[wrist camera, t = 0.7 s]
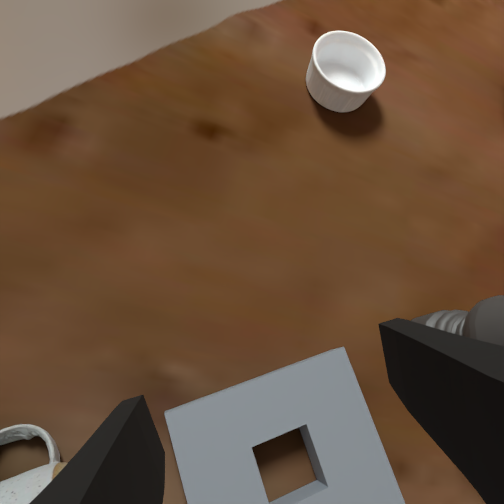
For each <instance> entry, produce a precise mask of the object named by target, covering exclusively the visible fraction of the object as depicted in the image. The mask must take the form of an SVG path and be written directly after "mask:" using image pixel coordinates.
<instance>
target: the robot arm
mask: <svg viewBox="0 0 504 504" xmlns="http://www.w3.org/2000/svg"><path fill="white" fill-rule="evenodd" d="M379 329H380V335H381V340H382V345H383V351H384V356H385V362H386V367H387V373H388V378H389V383H390V384H391V386H392V387H393V389H394V390H395V392H396V394H397V395H398V397H399V398H400V400H401V401H402V403H403V404H404V405H405V407H406V408H407V410H408V411H409V412H410V413H411V415H412V416H413V417H414V418H415V419H416V421H417V422H418V423H419V424H420V425H421V426H422V427H423V429H424V430H425V431H426V432H427V433H428V434H429V436H430V437H431V438H432V439H433V440H434V441H435V442H436V444H437V445H438V446H439V447H440V448H441V449H442V450H443V451H444V453H445V454H446V455H447V456H448V457H449V458H450V459H451V461H452V462H453V463H454V464H455V465H456V466H457V467H458V469H459V470H460V471H461V472H462V473H463V474H464V476H465V477H466V478H467V479H468V480H469V482H470V483H471V484H472V485H473V487H474V488H475V489H476V490H477V492H478V493H479V494H480V496H481V497H482V499H483V500H484V501H485V503H486V504H504V346H501V345H497V344H493V343H489V342H484V341H480V340H476V339H472V338H468V337H465V336H461V335H457V334H454V333H450V332H447V331H443V330H440V329H437V328H433V327H430V326H426V325H423V324H420V323H416V322H413V321H409V320H405V319H400V318H396V319H393V320H390V321H386V322H383V323H380V324H379ZM164 483H165V452H164V449H163V446H162V444H161V441H160V438H159V436H158V433H157V431H156V428H155V425H154V423H153V420H152V417H151V415H150V412H149V409H148V407H147V404H146V401H145V399H144V396H143V395H141V396H137V397H134V398H131V399H127V400H124V401H122V402H121V403H120V404H119V405H118V406H117V407H116V408H115V409H114V410H113V411H112V413H111V414H110V415H109V416H108V417H107V418H106V420H105V421H104V422H103V423H102V424H101V425H100V427H99V428H98V429H97V430H96V431H95V433H94V434H93V435H92V436H91V437H90V438H89V440H88V441H87V442H86V443H85V444H84V446H83V447H82V448H81V449H80V450H79V451H78V453H77V454H76V455H75V456H74V457H73V458H72V459H71V460H70V461H69V462H68V464H67V465H66V466H65V467H64V468H63V469H62V470H61V471H60V472H59V473H58V474H57V476H56V477H55V478H54V479H53V480H52V481H51V482H50V483H49V484H48V485H47V486H46V487H45V488H44V489H43V490H42V491H41V492H40V493H39V494H38V495H37V496H36V497H35V498H34V499H33V500H32V501H31V502H30V503H29V504H162V503H163V495H164Z"/></svg>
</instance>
